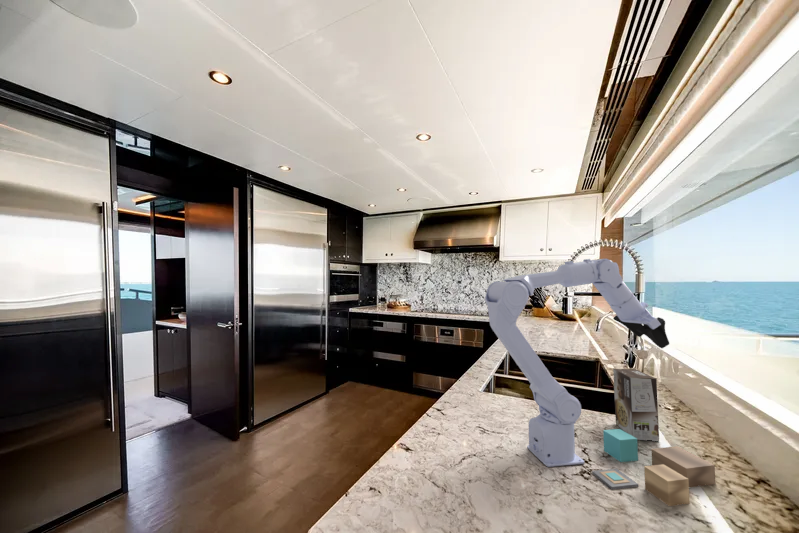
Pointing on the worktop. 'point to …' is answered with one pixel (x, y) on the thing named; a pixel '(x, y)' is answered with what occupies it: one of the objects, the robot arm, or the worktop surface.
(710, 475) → the walnut block
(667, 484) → the oak block
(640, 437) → the coffee box
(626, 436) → the teal block
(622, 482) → the card
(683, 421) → the worktop surface
